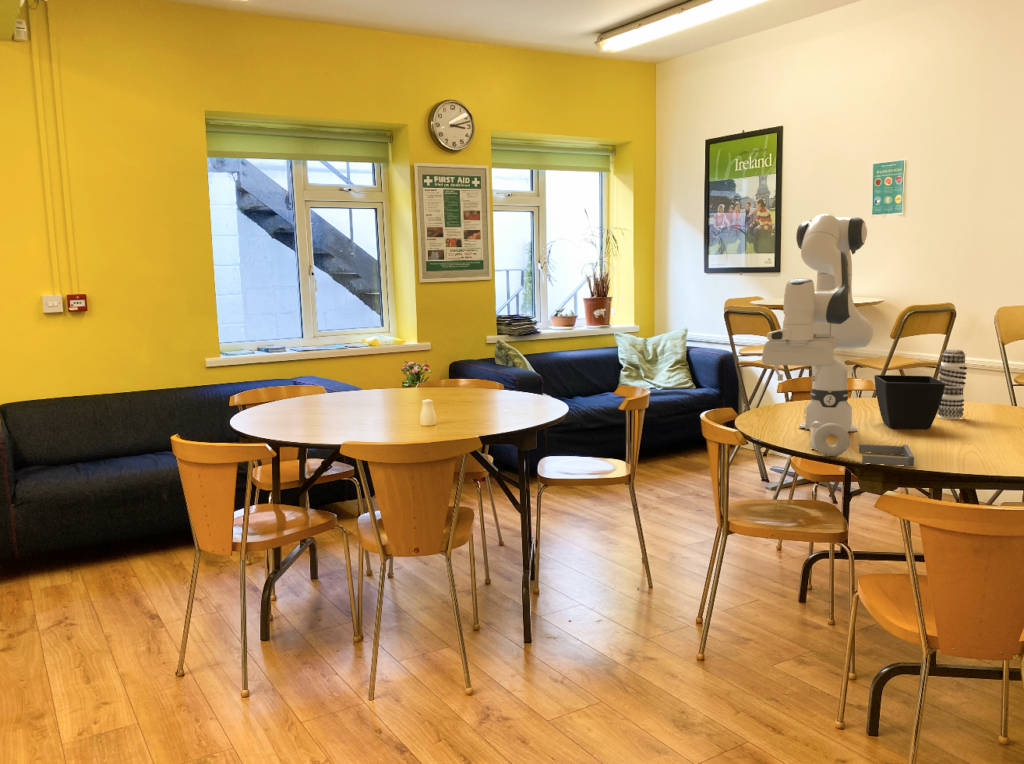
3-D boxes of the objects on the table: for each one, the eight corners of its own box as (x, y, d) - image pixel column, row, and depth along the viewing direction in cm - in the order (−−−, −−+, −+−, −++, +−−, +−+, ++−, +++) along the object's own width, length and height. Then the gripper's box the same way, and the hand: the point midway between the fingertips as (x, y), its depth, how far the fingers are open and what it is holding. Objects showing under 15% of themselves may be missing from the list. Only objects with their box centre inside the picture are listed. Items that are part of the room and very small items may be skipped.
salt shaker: (810, 447, 258) (811, 419, 256) (822, 448, 256) (823, 420, 255) (810, 450, 254) (811, 421, 253) (822, 451, 253) (823, 422, 252)
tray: (858, 452, 251) (859, 442, 250) (906, 454, 246) (907, 444, 246) (862, 464, 235) (862, 453, 235) (913, 467, 231) (914, 456, 230)
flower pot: (943, 431, 281) (946, 382, 279) (883, 430, 285) (886, 381, 283) (927, 422, 299) (930, 375, 297) (871, 420, 303) (873, 375, 301)
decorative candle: (957, 415, 312) (961, 349, 309) (968, 419, 303) (972, 351, 300) (932, 415, 313) (935, 349, 310) (942, 419, 304) (946, 351, 301)
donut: (849, 456, 245) (850, 423, 243) (848, 459, 242) (850, 425, 240) (813, 454, 249) (814, 421, 248) (812, 456, 246) (813, 422, 245)
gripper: (835, 334, 244) (834, 381, 246) (763, 333, 251) (762, 379, 252) (836, 334, 239) (835, 382, 240) (762, 334, 245) (761, 380, 247)
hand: (797, 380), depth 246 cm, fingers open, 8 cm apart
